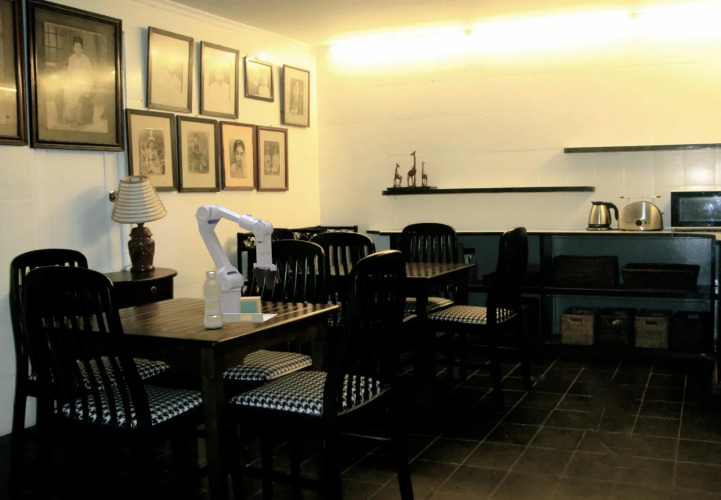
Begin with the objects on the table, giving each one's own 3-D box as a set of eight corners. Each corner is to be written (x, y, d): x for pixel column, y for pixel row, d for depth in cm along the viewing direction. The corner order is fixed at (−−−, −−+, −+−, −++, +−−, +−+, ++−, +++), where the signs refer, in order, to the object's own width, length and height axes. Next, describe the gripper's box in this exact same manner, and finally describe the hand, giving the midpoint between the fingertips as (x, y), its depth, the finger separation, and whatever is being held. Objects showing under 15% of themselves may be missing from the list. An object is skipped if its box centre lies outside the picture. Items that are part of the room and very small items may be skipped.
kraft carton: (242, 318, 271) (241, 297, 271) (261, 318, 271) (260, 296, 270) (239, 320, 266) (238, 299, 266) (258, 320, 266) (257, 298, 265)
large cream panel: (222, 323, 265) (222, 313, 265) (241, 315, 283) (241, 306, 282) (262, 323, 262) (261, 313, 262) (278, 315, 280) (278, 306, 279)
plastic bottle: (214, 326, 260) (212, 270, 259) (227, 327, 256) (224, 271, 255) (200, 329, 255) (197, 272, 254) (212, 330, 251) (209, 272, 250)
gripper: (246, 252, 283) (247, 287, 284) (263, 254, 272) (265, 290, 273) (262, 251, 287) (263, 285, 289) (280, 253, 276) (281, 288, 277)
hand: (265, 288), depth 281 cm, fingers open, 7 cm apart
